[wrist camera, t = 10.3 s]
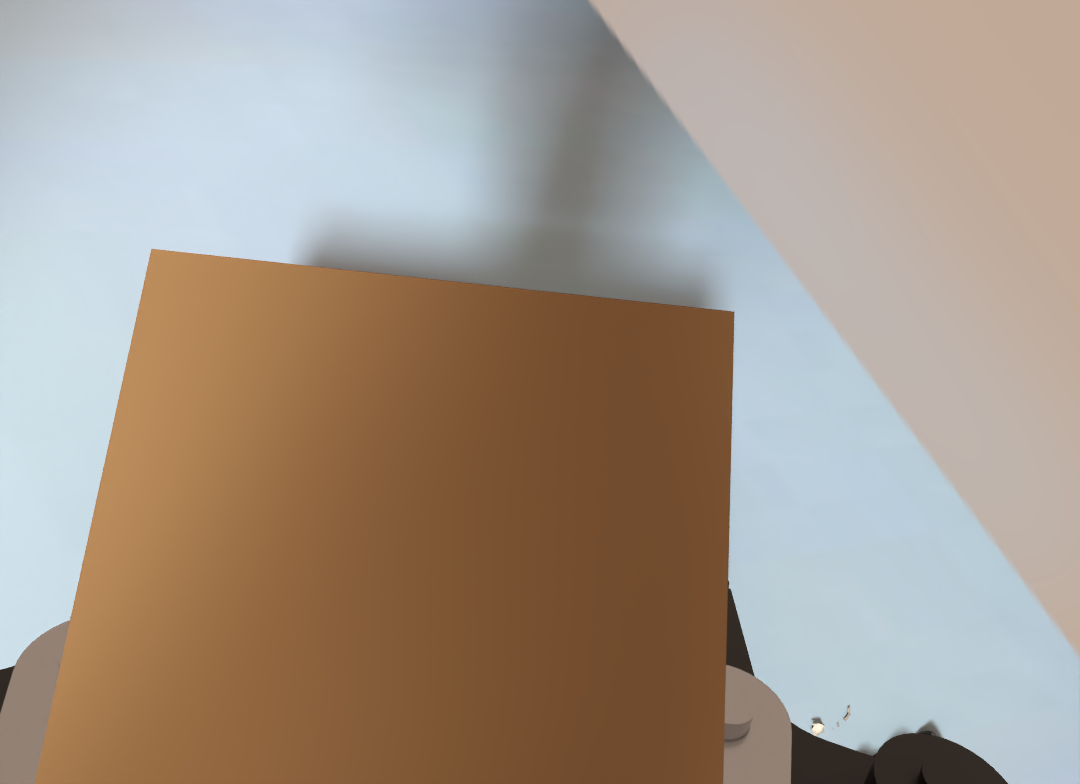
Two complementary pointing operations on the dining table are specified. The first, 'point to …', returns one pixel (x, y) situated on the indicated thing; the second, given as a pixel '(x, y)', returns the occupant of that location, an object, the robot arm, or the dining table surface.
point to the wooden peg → (402, 538)
